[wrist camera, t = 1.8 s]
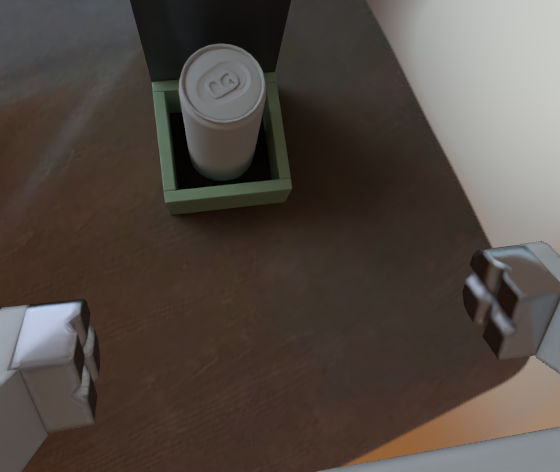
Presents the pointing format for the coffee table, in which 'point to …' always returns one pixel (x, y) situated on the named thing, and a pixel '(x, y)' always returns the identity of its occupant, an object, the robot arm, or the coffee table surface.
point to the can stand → (167, 71)
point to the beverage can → (222, 109)
